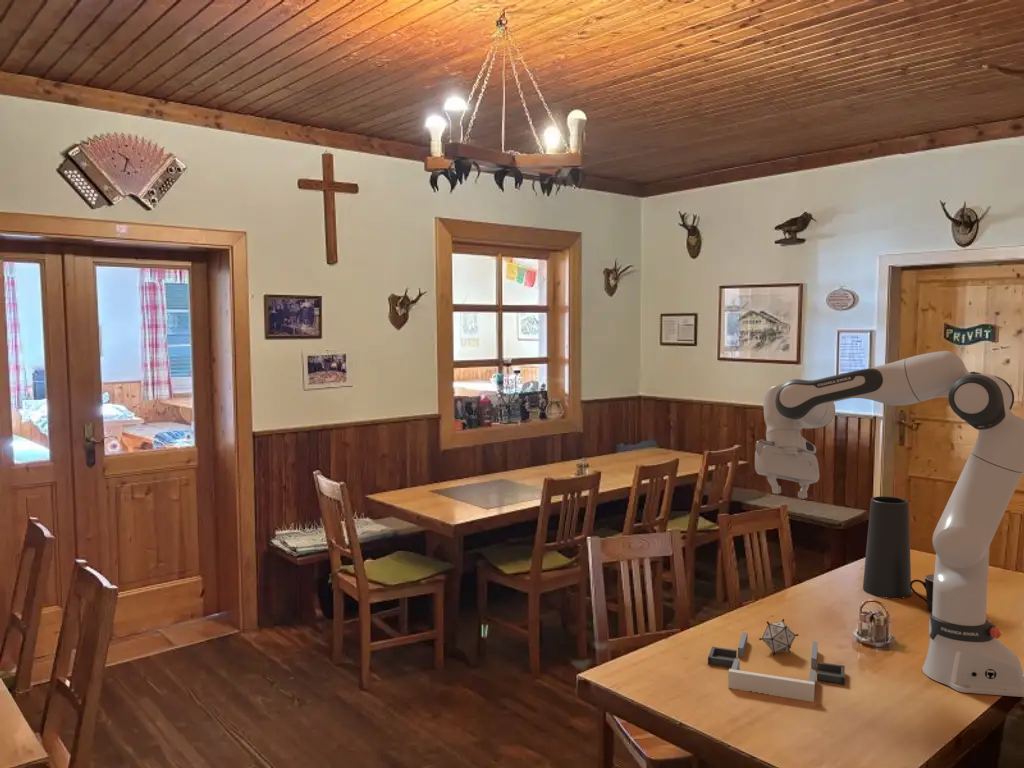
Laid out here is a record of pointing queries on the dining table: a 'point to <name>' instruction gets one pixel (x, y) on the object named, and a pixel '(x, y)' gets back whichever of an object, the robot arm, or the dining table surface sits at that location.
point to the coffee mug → (929, 590)
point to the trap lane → (774, 683)
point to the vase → (888, 549)
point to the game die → (778, 637)
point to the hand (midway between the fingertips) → (790, 495)
